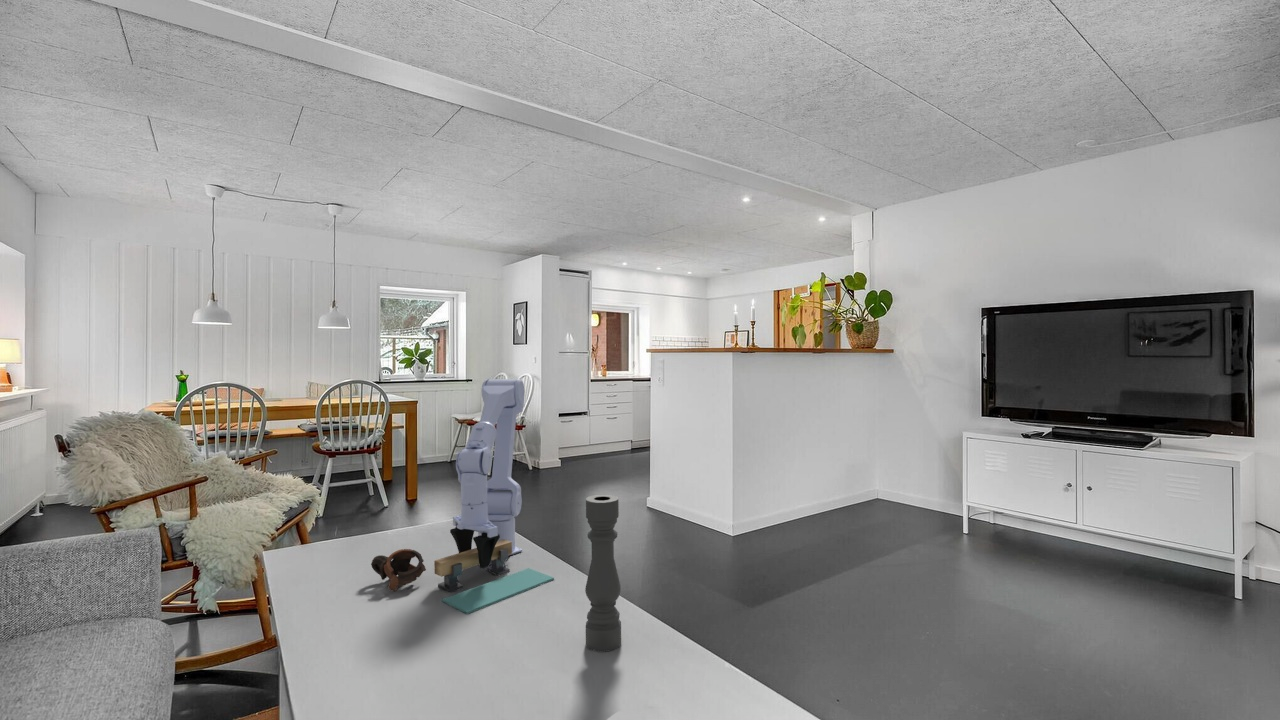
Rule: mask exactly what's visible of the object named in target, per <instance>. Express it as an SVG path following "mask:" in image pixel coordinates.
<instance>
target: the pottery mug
mask: <svg viewBox="0 0 1280 720" xmlns="http://www.w3.org/2000/svg"><path fill="white" fill-rule="evenodd" d="M414 558H417V560H418V564H417V565H414V564H411V561H412V559H414ZM424 562H425V560H424V559H423V556H422V554H421V553H420V552H419V551H417V550H414V549H410V548H402V549H397V550H396V551H394V552H392V553H391V554H390V555H388V556H385V555H376V556H375V557H374V558H373V559H372V560H371V564H370V565H371V568H372V570H373V571H374V572H375V573H376V574H377V575H379V576H380V579H381V580H382V581H384V580H385V579H386V578H388V579H389V584H388V586H387V587H388V590H390V591H392V592H395V591H396V590H397V589H398V588H401V587H404V586H406V585H408V584H411V583H412V582H416V581H417V580H418V579H417V578H420V577H421V575H422V574H423V573H424V572H425V571H427V568H426V566H425V564H424Z"/></svg>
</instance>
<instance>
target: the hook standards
mask: <svg viewBox="0 0 1280 720" xmlns="http://www.w3.org/2000/svg"><path fill="white" fill-rule="evenodd" d="M507 560H509V556H508V548H505V549H502V550H499V558H497V559H494V560H491V562H490V566H488V567H485V571H487V572H489V573H491V574H494V575H497V576H502V575H504V574H507V573H509V572H510V568H508V567H506V566H505V565H504V564H505V561H507ZM460 576H463V570H462V563H457V564H454V565H452V574H449V575H446V576H443V581H442V582H439V583H438V587H439V588H441V589H443V590H444V591H448V592H449V593H454V592H457V591H459V590H462V589H464V588H465V587H464V584H461V583H460V582H459V581H458V578H459V577H460Z"/></svg>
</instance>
